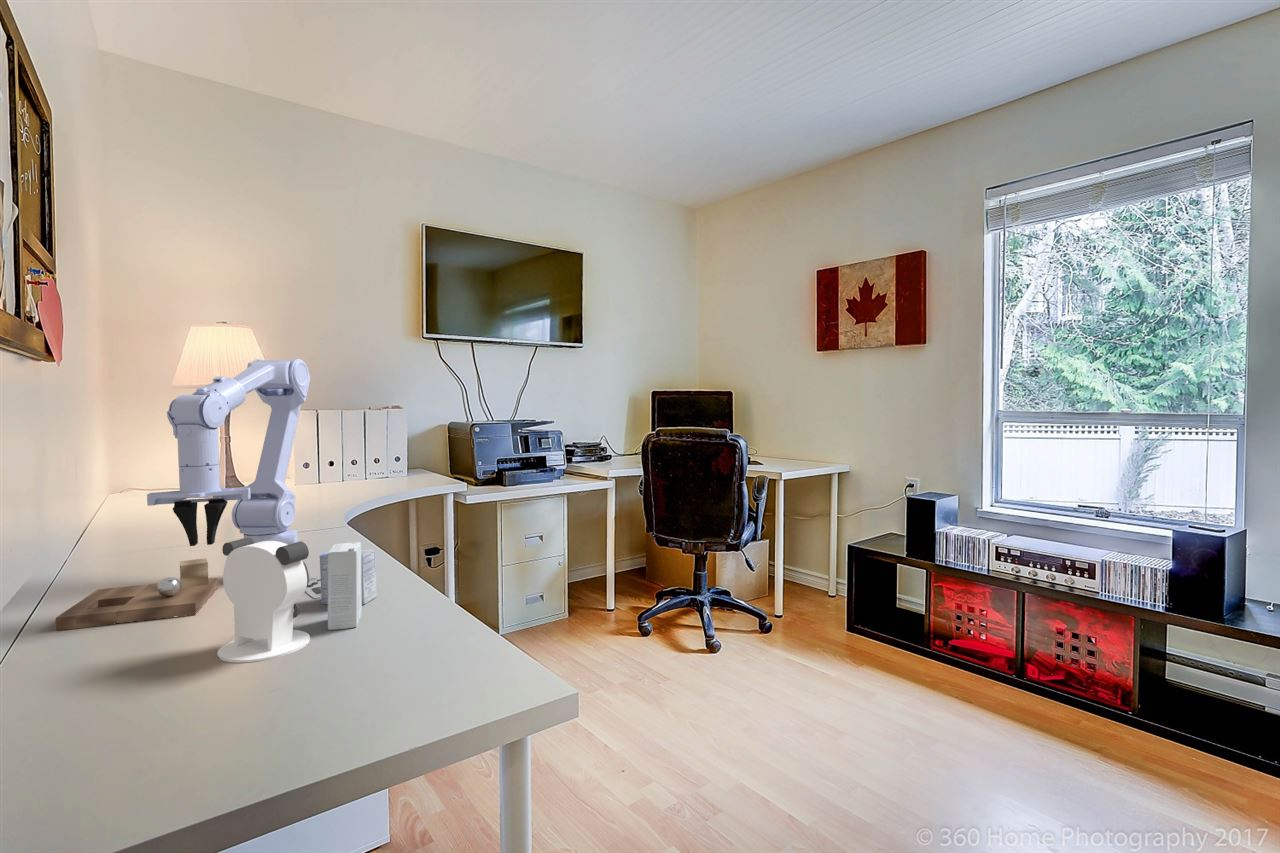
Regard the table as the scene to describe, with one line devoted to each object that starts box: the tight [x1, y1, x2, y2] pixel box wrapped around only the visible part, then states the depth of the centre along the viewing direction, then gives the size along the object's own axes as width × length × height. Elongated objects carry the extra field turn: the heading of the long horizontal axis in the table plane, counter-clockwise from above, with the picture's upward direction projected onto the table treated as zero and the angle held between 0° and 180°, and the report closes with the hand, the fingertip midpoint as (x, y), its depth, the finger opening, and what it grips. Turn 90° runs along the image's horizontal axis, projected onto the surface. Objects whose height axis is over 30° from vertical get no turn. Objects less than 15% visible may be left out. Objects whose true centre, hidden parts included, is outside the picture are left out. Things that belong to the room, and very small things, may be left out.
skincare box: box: [327, 541, 363, 631], centre depth 101 cm, size 6×4×12 cm
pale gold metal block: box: [179, 557, 209, 589], centre depth 116 cm, size 4×4×4 cm
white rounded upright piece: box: [217, 537, 311, 664], centre depth 91 cm, size 12×11×15 cm
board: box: [55, 577, 219, 632], centre depth 109 cm, size 18×16×2 cm
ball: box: [157, 576, 181, 597], centre depth 109 cm, size 3×3×3 cm
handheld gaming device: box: [304, 575, 321, 600], centre depth 122 cm, size 9×1×15 cm
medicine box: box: [319, 548, 378, 605], centre depth 112 cm, size 8×4×9 cm, turn 84°
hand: (202, 544), depth 110 cm, fingers closed
